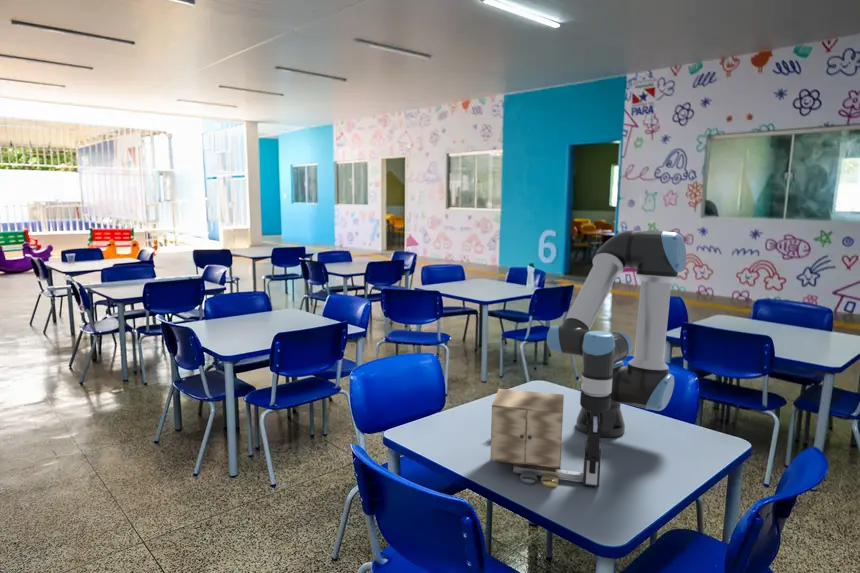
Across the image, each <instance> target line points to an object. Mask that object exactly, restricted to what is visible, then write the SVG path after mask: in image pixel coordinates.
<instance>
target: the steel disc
mask: <svg viewBox="0 0 860 573" xmlns="http://www.w3.org/2000/svg"><path fill="white" fill-rule="evenodd" d="M519 481H520V483H521V484H524V485H527V486H534V485H536V484H537V483H538V476H537V475H534V474H532V473H523V474H522V473H520V476H519Z"/></svg>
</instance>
